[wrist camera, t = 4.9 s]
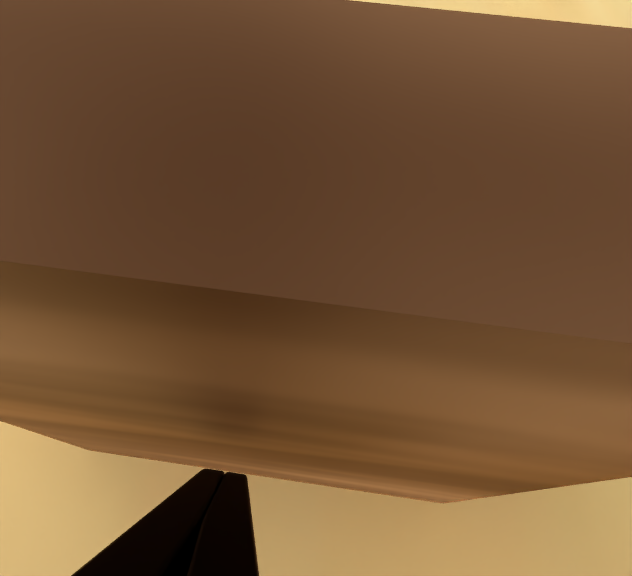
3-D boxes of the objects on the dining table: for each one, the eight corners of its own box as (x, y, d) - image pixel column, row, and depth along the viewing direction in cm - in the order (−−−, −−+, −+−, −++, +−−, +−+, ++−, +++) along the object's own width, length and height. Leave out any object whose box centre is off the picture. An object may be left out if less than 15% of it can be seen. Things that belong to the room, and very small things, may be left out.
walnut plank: (443, 503, 15) (1118, 406, 2) (88, 450, 16) (-799, 156, 3) (443, 411, 16) (884, 52, 4) (118, 365, 17) (-415, -76, 4)
